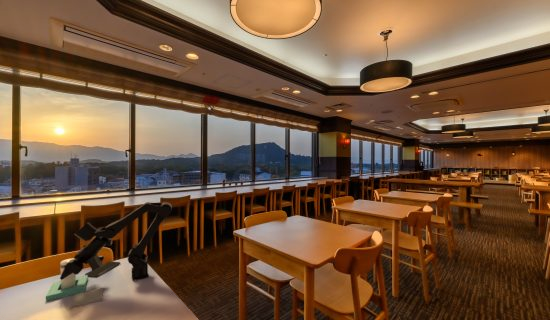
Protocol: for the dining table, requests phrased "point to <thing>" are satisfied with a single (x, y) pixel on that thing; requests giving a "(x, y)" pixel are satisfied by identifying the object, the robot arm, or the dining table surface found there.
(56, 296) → the green square frame
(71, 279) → the white capped cylinder
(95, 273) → the phone
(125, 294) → the dining table surface
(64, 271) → the robot arm
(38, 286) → the dining table surface
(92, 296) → the beige square plate
